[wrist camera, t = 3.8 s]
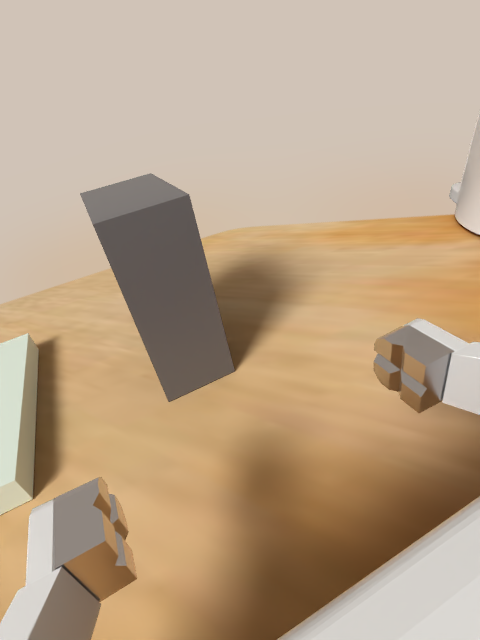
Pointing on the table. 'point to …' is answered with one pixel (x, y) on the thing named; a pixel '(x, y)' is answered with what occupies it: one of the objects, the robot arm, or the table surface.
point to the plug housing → (163, 279)
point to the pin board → (17, 420)
